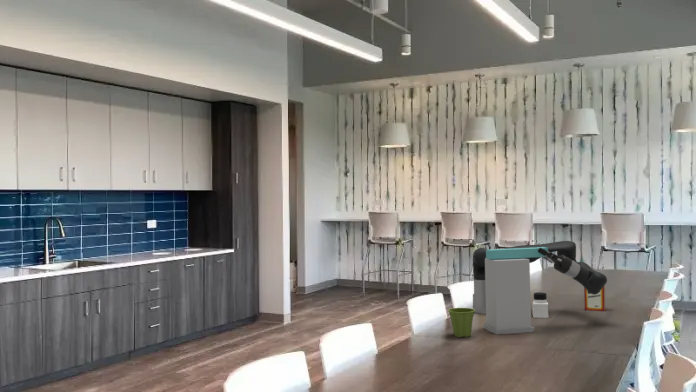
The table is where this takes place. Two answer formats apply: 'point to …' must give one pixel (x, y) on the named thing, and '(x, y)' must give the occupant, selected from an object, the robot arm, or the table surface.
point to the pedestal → (508, 296)
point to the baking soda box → (595, 300)
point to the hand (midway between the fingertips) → (536, 249)
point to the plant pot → (461, 321)
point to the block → (514, 253)
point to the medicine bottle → (540, 305)
